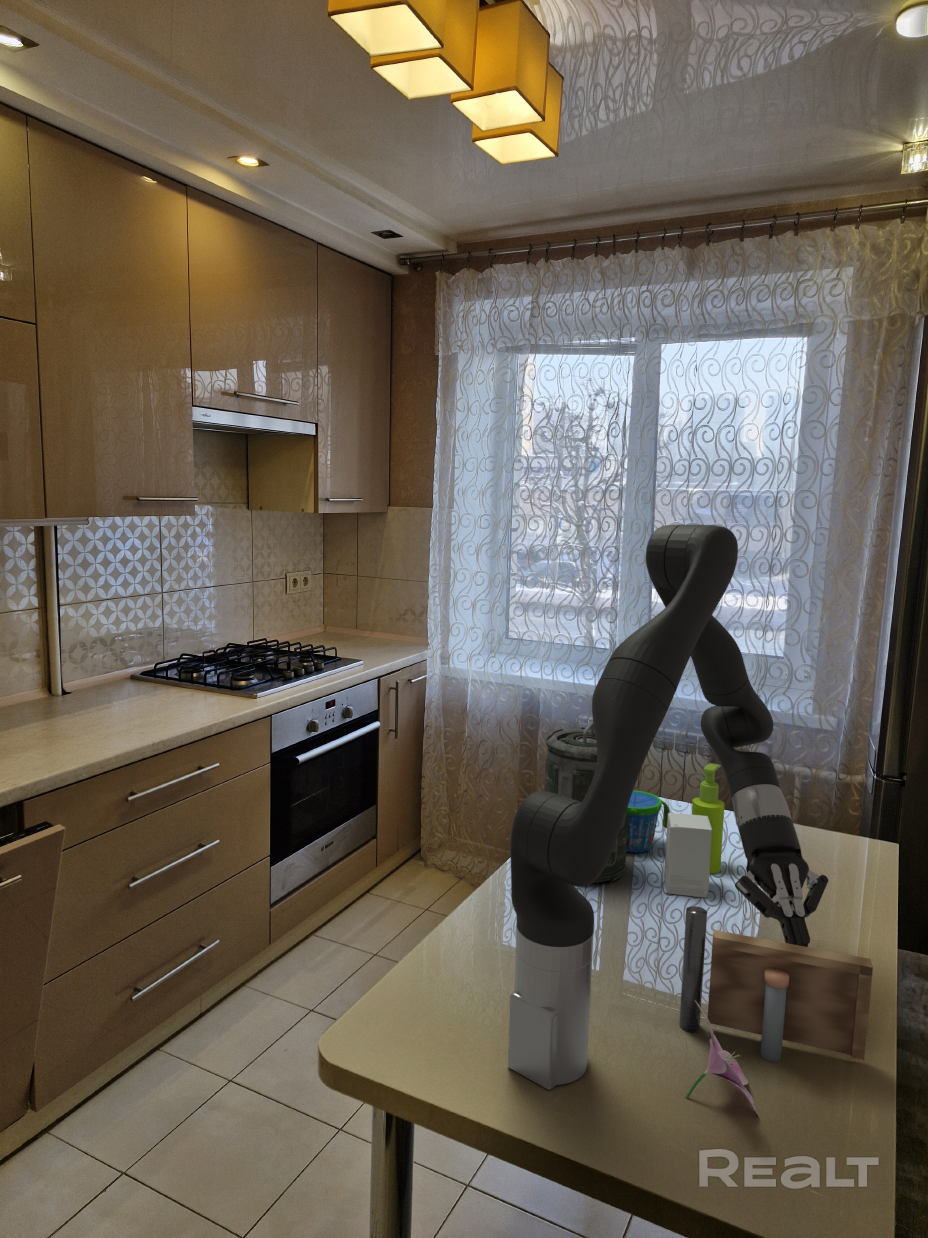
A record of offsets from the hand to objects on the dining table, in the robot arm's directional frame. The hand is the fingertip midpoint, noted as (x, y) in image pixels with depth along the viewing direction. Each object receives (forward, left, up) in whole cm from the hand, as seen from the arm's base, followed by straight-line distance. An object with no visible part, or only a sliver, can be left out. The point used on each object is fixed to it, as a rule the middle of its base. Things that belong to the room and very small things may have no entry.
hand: (800, 949), depth 105 cm
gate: (-5, 0, -10) cm, 11 cm away
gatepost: (-9, +10, -11) cm, 18 cm away
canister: (+23, +46, -11) cm, 53 cm away
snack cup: (+39, +44, -11) cm, 60 cm away
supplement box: (+29, +28, -11) cm, 42 cm away
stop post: (-8, 0, -11) cm, 14 cm away
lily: (-19, +2, -11) cm, 22 cm away
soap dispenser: (+40, +29, -11) cm, 51 cm away
